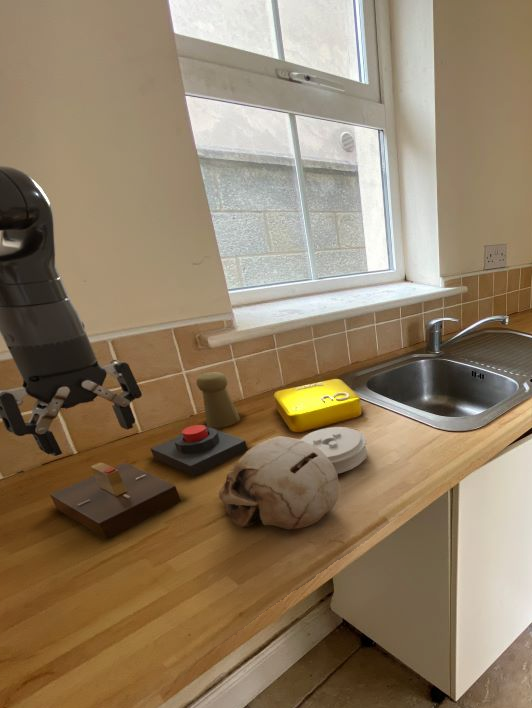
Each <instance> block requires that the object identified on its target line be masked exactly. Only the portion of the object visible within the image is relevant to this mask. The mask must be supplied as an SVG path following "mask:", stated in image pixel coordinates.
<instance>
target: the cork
mask: <svg viewBox="0 0 532 708" xmlns="http://www.w3.org/2000/svg"><path fill="white" fill-rule="evenodd" d="M196 386H197V388H198V389H199V390H200V391H201V392H202V399H203V407H204V414H205V421H206V426H208V427H211V428H214V429H222V428H227V427H230V426H233V425H235V424H237V423H239V421H240V419H241V417H240V414H239V413H238V411H237V409H236V406H235V404H234V402H233V400H232V397H231V395H230V393H229V391H228V389H227V386H228V379H227V377H226V375H225V374H224V373H222V372H219V371H210V372H205V373H203V374H201V375H199V376H198V377H197V378H196Z"/></svg>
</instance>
